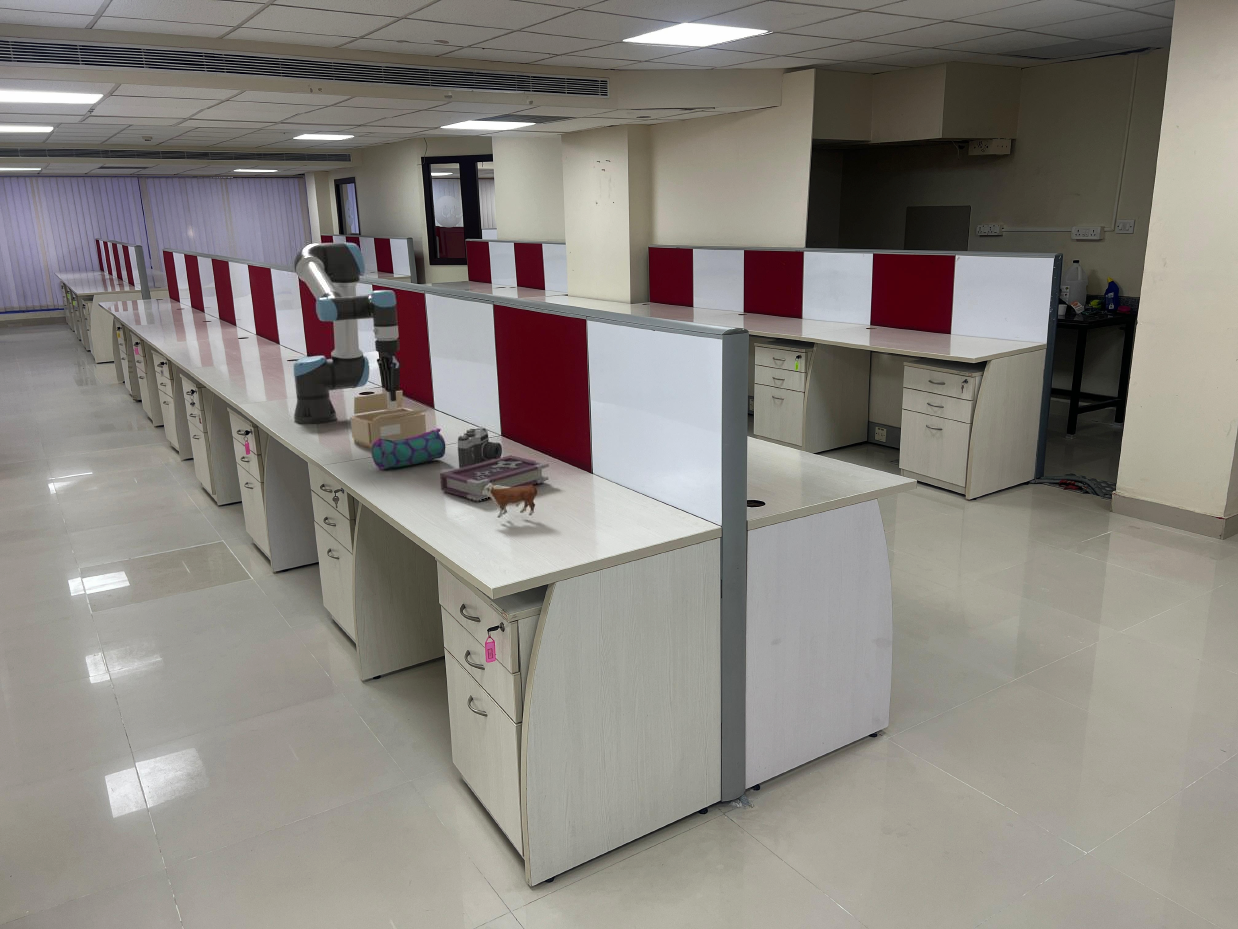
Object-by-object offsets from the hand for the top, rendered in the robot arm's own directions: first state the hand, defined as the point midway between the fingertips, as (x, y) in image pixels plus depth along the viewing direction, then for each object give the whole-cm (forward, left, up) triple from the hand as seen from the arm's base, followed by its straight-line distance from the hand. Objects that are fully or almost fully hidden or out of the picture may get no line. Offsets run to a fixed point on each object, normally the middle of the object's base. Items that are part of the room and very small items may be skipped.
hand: (392, 410), depth 293 cm
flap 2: (+3, 0, -2) cm, 4 cm away
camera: (+43, +8, -12) cm, 45 cm away
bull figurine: (+92, -14, -11) cm, 94 cm away
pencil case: (+29, -9, -12) cm, 32 cm away
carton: (-4, 0, -11) cm, 12 cm away
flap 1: (-11, 0, -2) cm, 11 cm away
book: (+66, -2, -12) cm, 67 cm away
